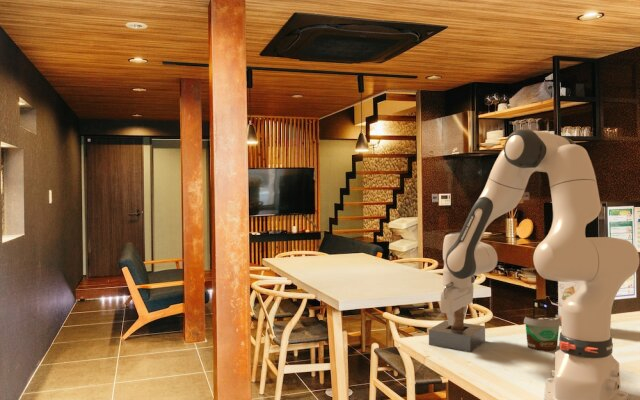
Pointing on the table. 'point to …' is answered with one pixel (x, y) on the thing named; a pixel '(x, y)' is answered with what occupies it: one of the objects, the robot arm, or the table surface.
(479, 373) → the table surface
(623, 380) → the table surface
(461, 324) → the walnut peg
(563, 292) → the cracker box
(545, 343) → the food container
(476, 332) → the socket block
